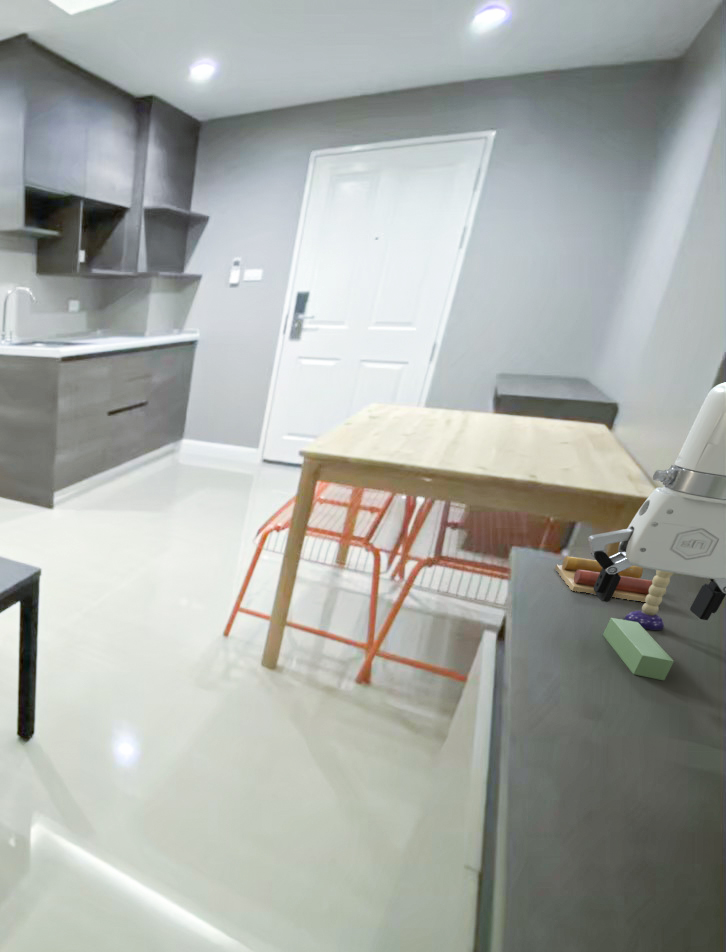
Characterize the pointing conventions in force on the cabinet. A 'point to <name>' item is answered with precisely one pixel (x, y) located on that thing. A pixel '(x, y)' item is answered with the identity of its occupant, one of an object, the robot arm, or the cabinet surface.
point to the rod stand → (586, 573)
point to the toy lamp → (652, 603)
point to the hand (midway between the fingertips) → (648, 606)
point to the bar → (637, 649)
